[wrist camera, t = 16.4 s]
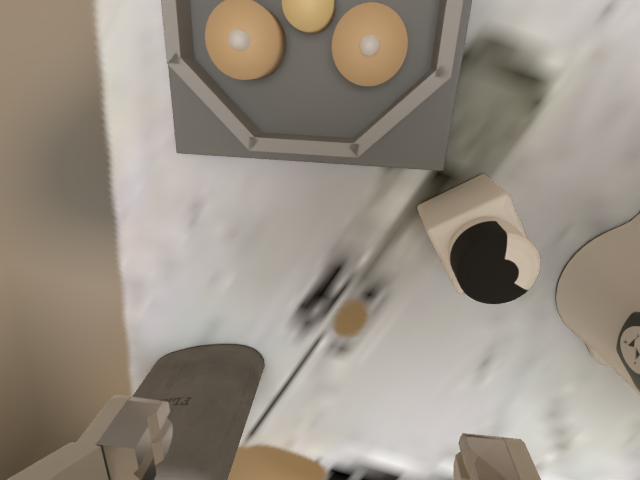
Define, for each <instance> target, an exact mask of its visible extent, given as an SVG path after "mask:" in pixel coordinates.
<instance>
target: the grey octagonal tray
mask: <svg viewBox="0 0 640 480" xmlns="http://www.w3.org/2000/svg"><path fill="white" fill-rule="evenodd" d="M471 4H472V0H161V5H162V16H163V26H164V36H165V46H166V57H167V64H168V68H169V78H170V88H171V99H172V109H173V119H174V130H175V140H176V151H177V153H183V154H198V155H213V156H229V157H244V158H259V159H274V160H289V161H304V162H319V163H334V164H350V165H365V166H380V167H395V168H410V169H425V170H440V171H443V169H444V163H445V157H446V151H447V145H448V139H449V133H450V127H451V122H452V116H453V110H454V104H455V98H456V92H457V86H458V80H459V74H460V69H461V63H462V57H463V51H464V45H465V39H466V33H467V27H468V21H469V16H470V10H471Z"/></svg>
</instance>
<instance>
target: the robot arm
mask: <svg viewBox="0 0 640 480" xmlns="http://www.w3.org/2000/svg"><path fill="white" fill-rule="evenodd" d="M556 302H557V308H558V311H559V314H560V316H561V318H562V320H563V321H564V323H565V324H566V325H567V326H568V327H569V329H571V330H572V331H573V332H574V333H576V334H577V335H578V336H579V337H581V338H582V339H583V340H584V341H585V342H586V345H587V347H588V350H589V352H590V354H591V355H592V356H593V357H594V358H595V359H596V360H597V361H598V362H599V363H601V364H604V365H609V366H610V367H611V368H613V369H614V370H615V371H616V372H617V373H618V374H619V375H620V376H621V377H622V378H623V379H624V380H625V381H626V382H627V383H628V384H629V385H630V386H631V387H633V388H634V389H635V390H636V391H637V392H638V393H639V394H640V213H639V214H638V215H637V216H636V217H635V218H634V219H632V220H631V221H630V222H628V223H626V224H624V225H622V226H620V227H617V228H615V229H613V230H610V231H608V232H606V233H604V234H602V235H600V236H599V237H597V238H595V239H594V240H592V241H591V242H589V243H588V244H587V245H585V246H584V247H583V248H582V249H581V250H580V251H579V252H577V254H576V255H575V256H574V257H573V258H572V259H571V260H570V262H569V263H568V264H567V266H566V268H565V269H564V271H563V273H562V275H561V277H560V280H559V283H558V287H557V293H556ZM169 413H170V407H169V402H166V401H160V400H153V399H145V398H138V397H129V396H121V395H115V396H113V397H112V398H110V399H109V400H108V402H107V403H106V404H105V406H104V407H103V408H102V409H101V411H100V412H99V413H98V415H97V416H96V417H95V419H94V420H93V421H92V422H91V424H90V425H89V426H88V428H87V429H86V430H85V432H84V433H83V434H82V435H81V437H80V438H79V439H78V441H77V442H76V443H72V442H71V443H69V444H67V445H65V446H64V447H62V448H60V449H58V450H57V451H55V452H53V453H52V454H50V455H48V456H47V457H45V458H43V459H42V460H40V461H38V462H36V463H35V464H33V465H31V466H29V467H28V468H26V469H24V470H23V471H21V472H19V473H18V474H16V475H14V476H12V477H11V478H9V479H7V480H154V478H155V476H156V468H155V465H157V464H158V463H159V462H161V461H162V460H164V458H165V456H166V454H167V452H168V450H169V447H170V444H171V440H172V433H173V427H172V423H171V421H170V420H169V419H168V418H167V416H168V414H169ZM459 446H460V450H461V452H459V453H458V454H457V455H456V456H455V461H454V480H541V479H540V476H539V474H538V472H537V470H536V468H535V465H534V463H533V461H532V459H531V456H530V454H529V452H528V450H527V447H526V445H525V443H524V442H523V441H522V440H521V439H513V438H504V437H501V438H500V437H496V436H485V435H475V434H465V433H463V434H462V435H461V437H460V440H459Z"/></svg>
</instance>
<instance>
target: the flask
mask: <svg viewBox="0 0 640 480" xmlns="http://www.w3.org/2000/svg"><path fill="white" fill-rule="evenodd" d="M263 369H264V360H263V358H262V357H261V355H260V354H259V353H258V352H257V351H255V350H254V349H251V348H249V347H245V346H240V345H208V346H200V347H194V348H189V349H184V350H180V351H177V352H173V353H171V354H168V355H165V356H164V357H162V358H161V359H159V360H158V361H157V363H156V364H155V365H154V367H153V368H152V369H151V371H150V372H149V374H148V375H147V377H146V378H145V379H144V381H143V382H142V384H141V385H140V387H139V388H138V389H137V391H136V392H135V394H134V395H133V396H132V397H138V398H145V399H153V400H160V401H166V402H169V407H170V413H169V414H168V416H167V418H168V419H169V420H170V421H171V423H172V427H173V433H172V440H171V444H170V447H169V450H168V452H167V454H166V456H165V458H164V460H162V461H161V462H159V463H158V464H157V465H155V468H156V476H155V478H154V480H227V479H228V476H229V473H230V469H231V467H232V464H233V460H234V458H235V454H236V451H237V448H238V445H239V442H240V439H241V436H242V433H243V430H244V427H245V424H246V421H247V418H248V415H249V412H250V409H251V406H252V403H253V400H254V397H255V394H256V391H257V388H258V385H259V381H260V378H261V375H262V372H263Z"/></svg>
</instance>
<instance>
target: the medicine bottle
mask: <svg viewBox="0 0 640 480" xmlns="http://www.w3.org/2000/svg"><path fill="white" fill-rule="evenodd" d="M417 210H418V212H419V214H420V217H421V219H422V222H423V224H424V227H425V229H426V232H427V234H428V236H429V238H430V240H431V242H432V244H433V246H434V248H435V250H436V252H437V254H438V256H439V258H440V260H441V262H442V264H443V266H444V268H445V270H446V272H447V274H448V276H449V278H450V279H451V281H452V283H453V285H454V287H455V289H456V291H457V292H458V293H460V294H461V293H466V294H467V295H468V296H469V297H471V298H472V299H474V300H476V301H479V302H482V303H487V304H500V303H506V302H509V301H512V300H514V299H516V298H518V297H520V296H522V295H523V294H525V293H526V292H527V291H528V290H529V289H530V288H531V287H532V286H533V284H534V283H535V281H536V279H537V277H538V275H539V272H540V257H539V254H538V252H537V250H536V248H535V247H534V246H533V244H532V243H531V242H530V241H529V240H528V238H527V236H526V234H525V231H524V229H523V226H522V224H521V222H520V219H519V217H518V214H517V212H516V210H515V207H514V205H513V202H512V200H511V198H510V195H509V194H508V193H507V192H506V191H504V190H503V189H502V188H501V187H500V186H498V185H497V184H496V183H495V182H494V181H492V180H491V179H490V178H489V177H488V176H487V175H485V174H481V175H479V176H477V177H475V178H473V179H471V180H469V181H467V182H465V183H463V184H461V185H458V186H456V187H454V188H452V189H450V190H448V191H446V192H444V193H442V194H440V195H438V196H436V197H434V198H432V199H430V200H427V201H425V202H423V203H421V204H419V205H418V207H417Z"/></svg>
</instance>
